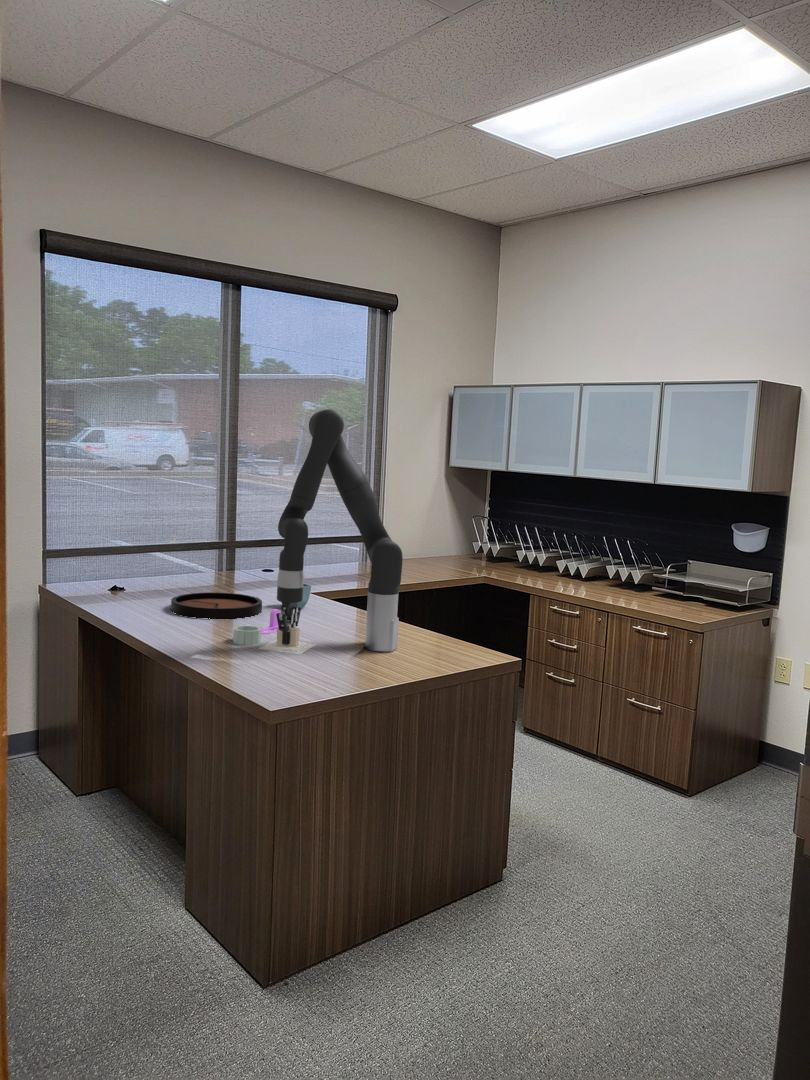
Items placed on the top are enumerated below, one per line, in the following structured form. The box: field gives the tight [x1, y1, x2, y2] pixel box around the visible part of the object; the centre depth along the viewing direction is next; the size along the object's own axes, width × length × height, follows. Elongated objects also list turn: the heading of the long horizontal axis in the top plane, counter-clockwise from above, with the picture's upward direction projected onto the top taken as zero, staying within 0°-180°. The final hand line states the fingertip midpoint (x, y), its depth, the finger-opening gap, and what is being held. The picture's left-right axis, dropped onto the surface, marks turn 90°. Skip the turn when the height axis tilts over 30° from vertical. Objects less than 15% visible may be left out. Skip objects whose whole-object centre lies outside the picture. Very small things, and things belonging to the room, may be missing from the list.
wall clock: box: [170, 591, 263, 620], centre depth 300 cm, size 31×4×31 cm
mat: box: [257, 639, 317, 655], centre depth 249 cm, size 13×13×1 cm
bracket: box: [261, 608, 281, 635], centre depth 269 cm, size 13×6×7 cm, turn 152°
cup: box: [232, 625, 262, 646], centre depth 252 cm, size 8×8×5 cm
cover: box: [265, 627, 311, 652], centre depth 249 cm, size 10×10×6 cm
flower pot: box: [297, 583, 312, 609], centre depth 312 cm, size 9×9×9 cm
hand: (287, 642), depth 249 cm, fingers closed on cover, 2 cm apart
